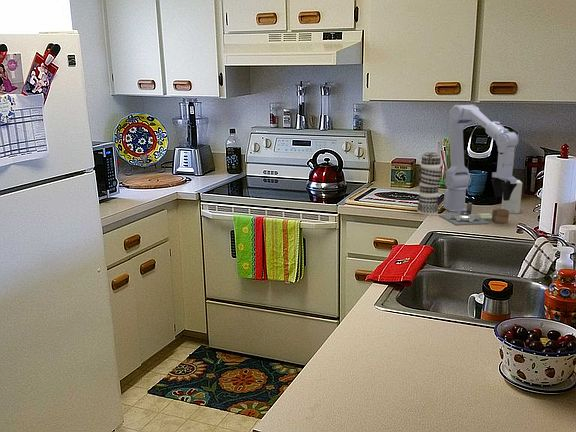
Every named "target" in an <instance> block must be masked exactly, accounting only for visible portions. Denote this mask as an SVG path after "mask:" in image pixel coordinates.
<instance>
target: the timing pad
mask: <svg viewBox="0 0 576 432" xmlns="http://www.w3.org/2000/svg"><path fill="white" fill-rule="evenodd" d="M479 214H480V217H481V219H483V220H486V221H487V220H491V221H492V213H489V212H486V213H479Z"/></svg>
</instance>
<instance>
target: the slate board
mask: <svg viewBox="0 0 576 432" xmlns="http://www.w3.org/2000/svg"><path fill="white" fill-rule="evenodd" d="M438 217H440V218H442V219H443V220H445V221H446V222H447V221H448V222H449V223H451V224H453V225H454V226H468V225H470V226H473V225H475V226H476V225H489V224H490V222H489V221H487V220H483V219H481V220H479V221H478V220H475V221H473V222H469V221H457V220H455V219H450V218H449V213H448V214H447V213H446V214H439V215H438Z"/></svg>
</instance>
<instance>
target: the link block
mask: <svg viewBox="0 0 576 432" xmlns="http://www.w3.org/2000/svg"><path fill="white" fill-rule="evenodd" d="M491 215H492V220H491V223H494V224H497V225H498V224H508V223H509V218H510V217H509V216H510V213H509V211H508V210H506V209H501V208H493V209H492V213H491Z"/></svg>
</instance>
